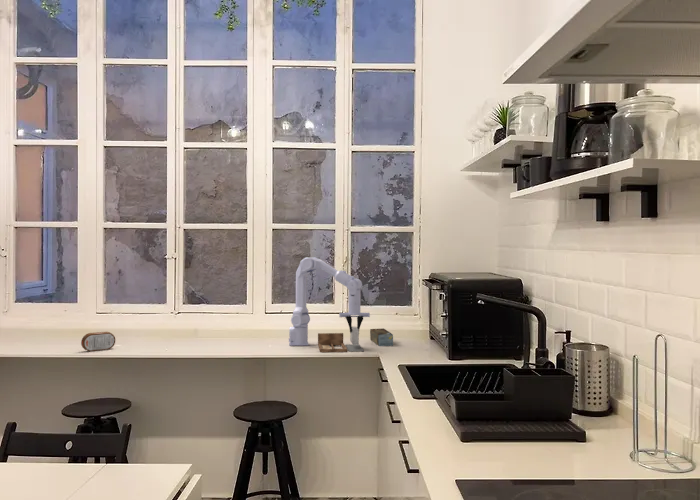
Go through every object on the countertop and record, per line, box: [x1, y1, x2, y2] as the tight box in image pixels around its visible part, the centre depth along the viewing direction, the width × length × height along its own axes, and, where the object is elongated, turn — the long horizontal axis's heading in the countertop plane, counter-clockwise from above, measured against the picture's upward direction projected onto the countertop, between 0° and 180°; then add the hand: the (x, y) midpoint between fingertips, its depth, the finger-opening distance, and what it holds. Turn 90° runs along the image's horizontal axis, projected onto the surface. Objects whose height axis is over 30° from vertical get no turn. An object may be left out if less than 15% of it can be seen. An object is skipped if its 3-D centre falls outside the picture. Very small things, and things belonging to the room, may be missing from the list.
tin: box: [80, 331, 116, 352], centre depth 278 cm, size 15×3×8 cm, turn 132°
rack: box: [317, 332, 348, 353], centre depth 286 cm, size 12×19×6 cm, turn 6°
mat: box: [344, 343, 365, 353], centre depth 287 cm, size 7×18×1 cm, turn 6°
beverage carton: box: [369, 328, 394, 347], centre depth 304 cm, size 8×19×7 cm, turn 10°
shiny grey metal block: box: [349, 326, 360, 345], centre depth 287 cm, size 3×11×7 cm, turn 6°
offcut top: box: [322, 345, 332, 349], centre depth 286 cm, size 4×13×1 cm, turn 7°
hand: (354, 332), depth 287 cm, fingers closed on shiny grey metal block, 3 cm apart
